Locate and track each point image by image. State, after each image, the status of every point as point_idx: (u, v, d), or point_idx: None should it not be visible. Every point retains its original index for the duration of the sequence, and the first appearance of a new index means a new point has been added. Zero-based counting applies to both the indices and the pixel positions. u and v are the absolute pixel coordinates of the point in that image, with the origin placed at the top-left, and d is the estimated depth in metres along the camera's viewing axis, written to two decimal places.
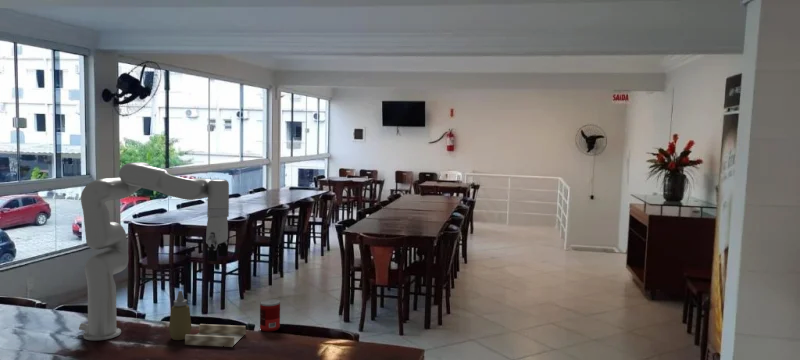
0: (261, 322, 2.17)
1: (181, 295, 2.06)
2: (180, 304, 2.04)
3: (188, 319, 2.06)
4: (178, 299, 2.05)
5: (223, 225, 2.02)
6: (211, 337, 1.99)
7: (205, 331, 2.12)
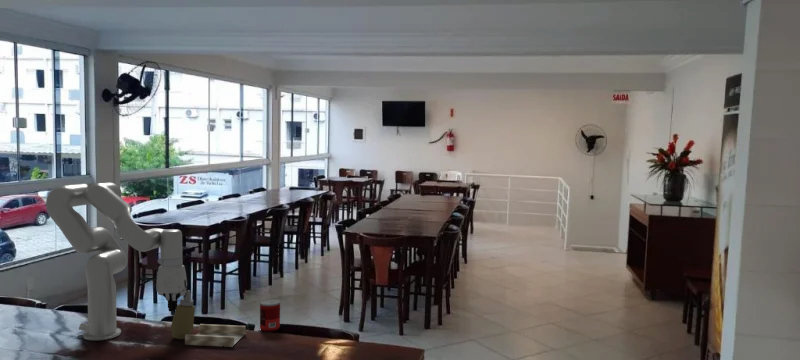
0: (261, 322, 2.17)
1: (189, 295, 2.06)
2: (186, 304, 2.04)
3: (191, 320, 2.06)
4: (185, 298, 2.05)
5: None
6: (211, 337, 1.99)
7: (205, 331, 2.12)
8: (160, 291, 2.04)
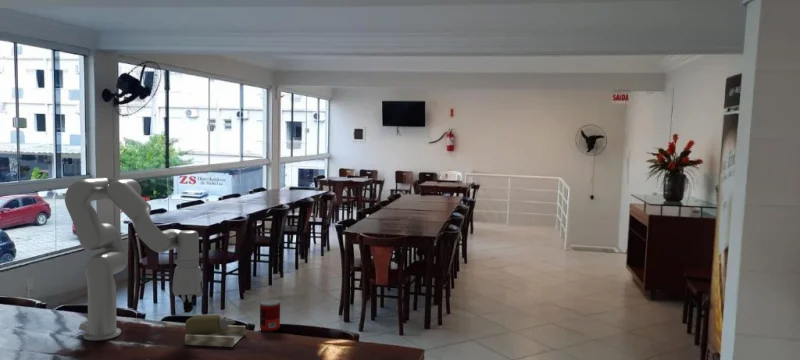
0: (261, 322, 2.17)
1: (230, 324, 2.06)
2: (221, 327, 2.05)
3: (207, 334, 2.06)
4: (226, 322, 2.06)
5: None
6: (211, 337, 1.99)
7: None
8: (176, 292, 2.03)
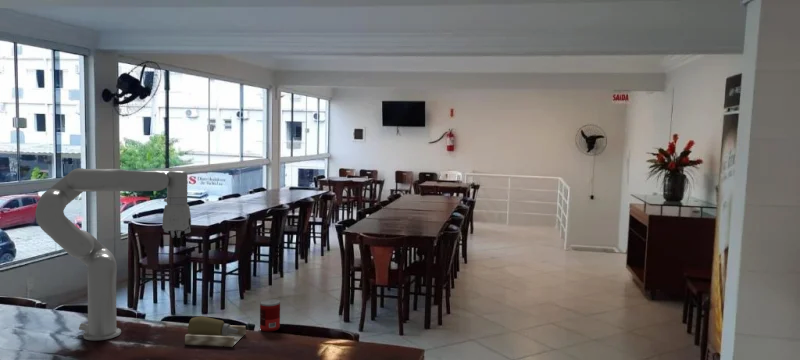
0: (261, 322, 2.17)
1: (232, 332, 2.06)
2: (223, 334, 2.05)
3: None
4: (229, 330, 2.06)
5: None
6: (211, 337, 1.99)
7: None
8: (166, 228, 2.17)
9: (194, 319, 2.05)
